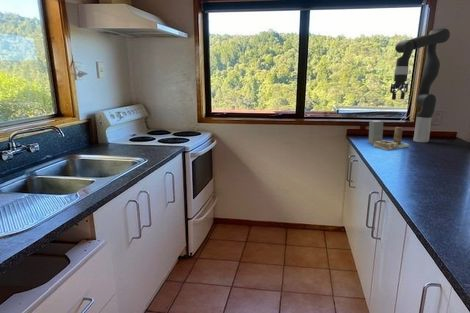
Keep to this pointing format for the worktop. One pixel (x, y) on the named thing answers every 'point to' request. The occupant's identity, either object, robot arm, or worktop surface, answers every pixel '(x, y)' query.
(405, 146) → the tray
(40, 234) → the worktop surface
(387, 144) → the pocket block
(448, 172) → the worktop surface
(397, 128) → the dowel
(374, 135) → the skincare box
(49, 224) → the worktop surface
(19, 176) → the worktop surface
